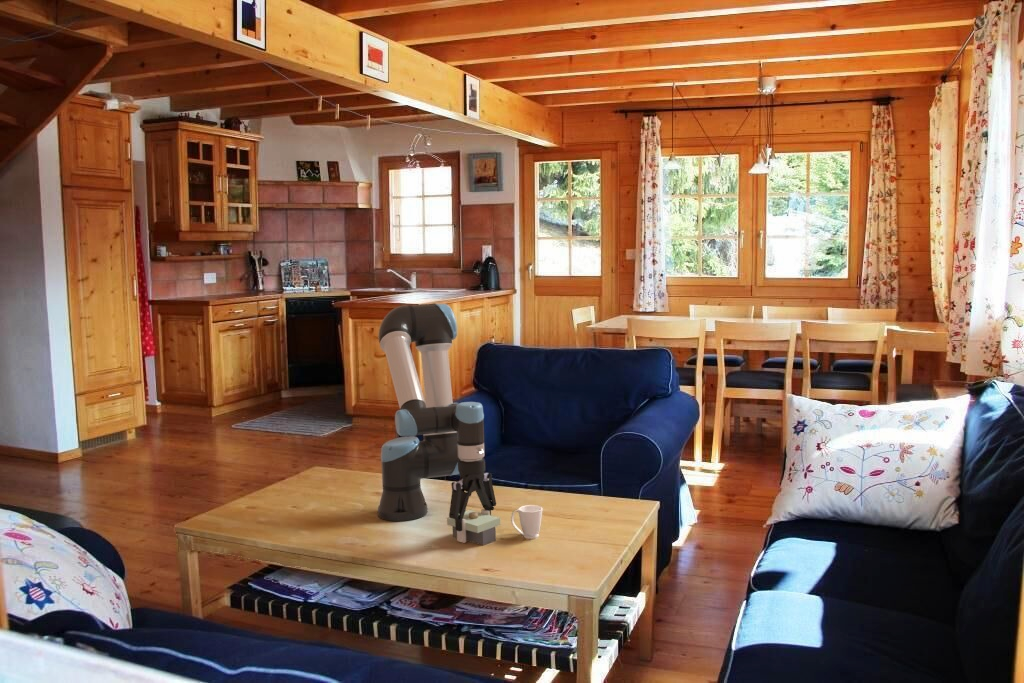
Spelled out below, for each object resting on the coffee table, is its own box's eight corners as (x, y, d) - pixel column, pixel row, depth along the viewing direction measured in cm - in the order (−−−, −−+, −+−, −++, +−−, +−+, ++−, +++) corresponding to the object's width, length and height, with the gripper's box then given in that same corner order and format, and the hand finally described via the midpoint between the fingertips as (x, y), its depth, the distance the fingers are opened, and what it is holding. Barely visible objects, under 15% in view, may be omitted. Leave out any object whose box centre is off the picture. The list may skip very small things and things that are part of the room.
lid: (447, 524, 244) (446, 513, 244) (469, 516, 251) (469, 505, 251) (477, 533, 236) (477, 521, 236) (500, 524, 243) (499, 513, 243)
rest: (452, 536, 246) (452, 522, 246) (465, 532, 250) (465, 518, 249) (483, 545, 238) (482, 531, 238) (495, 540, 242) (495, 526, 241)
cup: (534, 542, 240) (534, 513, 239) (505, 536, 245) (504, 508, 245) (548, 534, 245) (547, 506, 245) (519, 529, 251) (518, 501, 250)
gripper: (452, 468, 231) (455, 550, 234) (507, 452, 247) (510, 529, 249) (433, 464, 236) (436, 544, 239) (488, 449, 252) (491, 524, 255)
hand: (474, 536), depth 244 cm, fingers closed on lid, 9 cm apart
